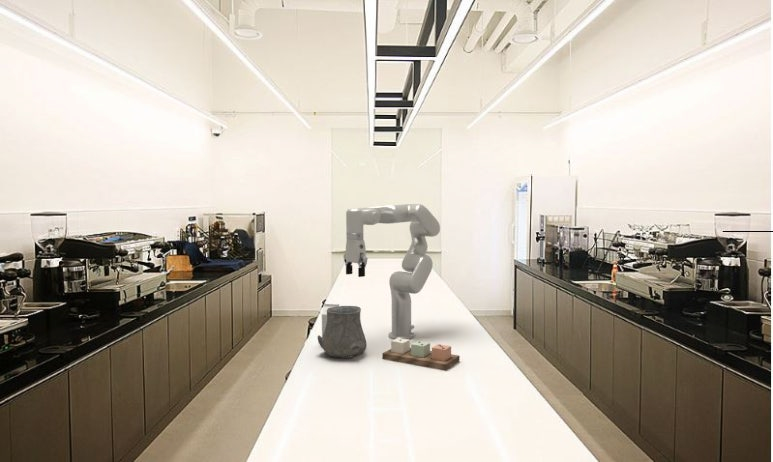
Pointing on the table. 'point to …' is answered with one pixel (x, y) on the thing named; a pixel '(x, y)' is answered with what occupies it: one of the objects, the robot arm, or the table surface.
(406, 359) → the tray
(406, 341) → the tile one pip
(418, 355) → the tile two pip
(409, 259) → the robot arm
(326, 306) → the milk carton
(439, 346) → the tile three pip
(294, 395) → the table surface
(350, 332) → the vessel
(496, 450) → the table surface
